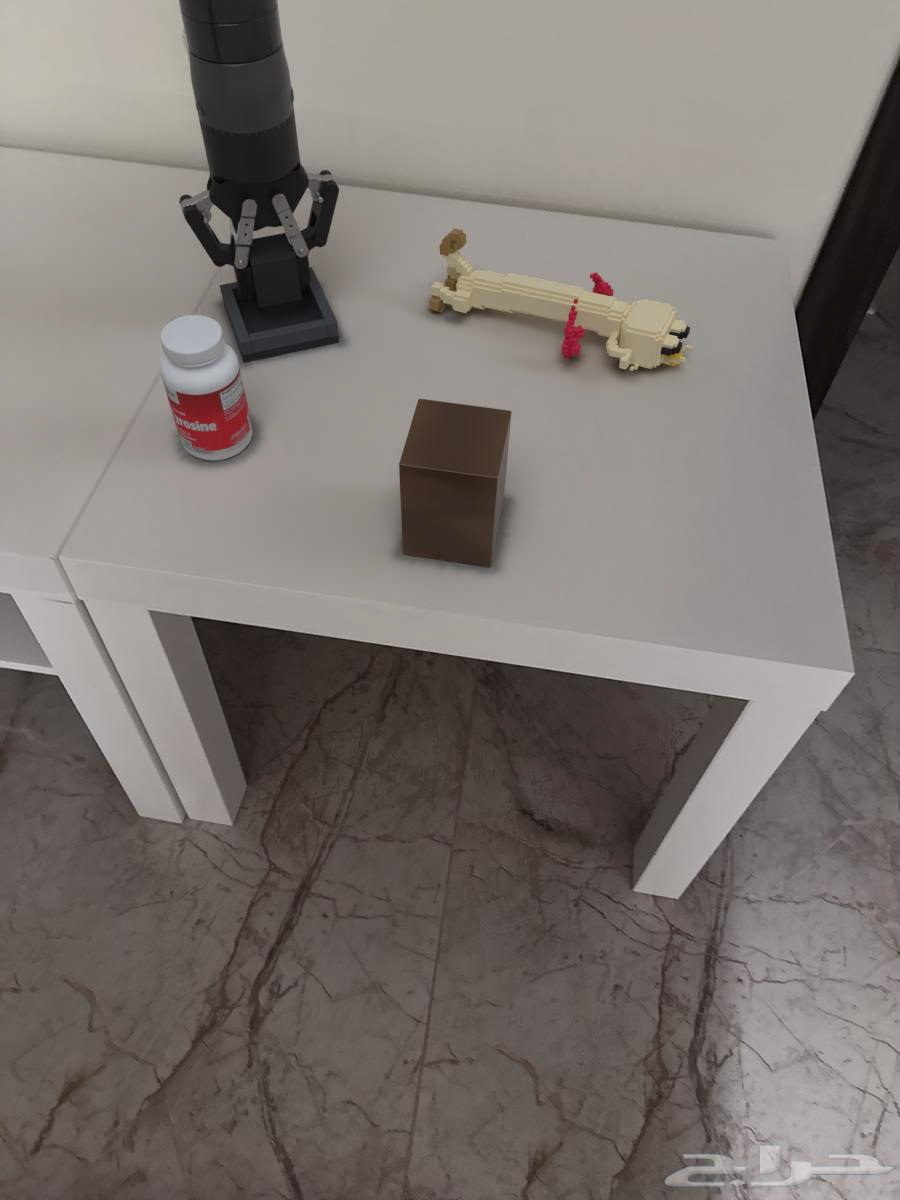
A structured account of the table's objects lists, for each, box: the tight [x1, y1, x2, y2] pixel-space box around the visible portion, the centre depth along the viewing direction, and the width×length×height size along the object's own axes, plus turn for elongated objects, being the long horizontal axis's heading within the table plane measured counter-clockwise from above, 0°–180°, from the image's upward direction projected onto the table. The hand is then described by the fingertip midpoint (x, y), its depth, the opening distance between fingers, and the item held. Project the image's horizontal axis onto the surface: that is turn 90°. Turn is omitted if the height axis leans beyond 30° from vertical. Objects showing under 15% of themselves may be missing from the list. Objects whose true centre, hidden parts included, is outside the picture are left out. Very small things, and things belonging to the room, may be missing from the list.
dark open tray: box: [219, 266, 340, 363], centre depth 89 cm, size 9×9×2 cm
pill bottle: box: [159, 314, 253, 462], centre depth 76 cm, size 6×6×11 cm
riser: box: [398, 398, 513, 568], centre depth 70 cm, size 7×7×10 cm
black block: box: [248, 232, 302, 308], centre depth 85 cm, size 4×4×4 cm
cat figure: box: [428, 228, 693, 372], centre depth 86 cm, size 10×9×25 cm
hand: (275, 291), depth 87 cm, fingers closed on black block, 4 cm apart
